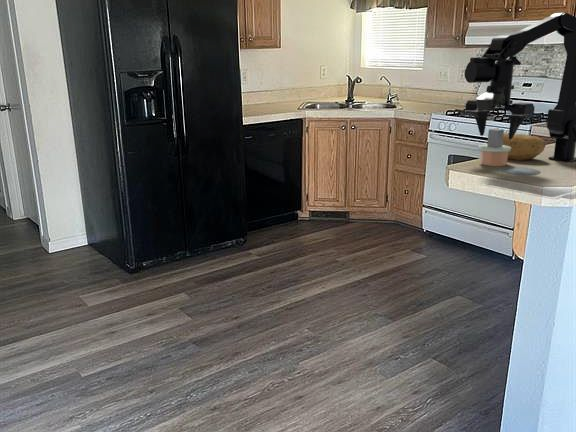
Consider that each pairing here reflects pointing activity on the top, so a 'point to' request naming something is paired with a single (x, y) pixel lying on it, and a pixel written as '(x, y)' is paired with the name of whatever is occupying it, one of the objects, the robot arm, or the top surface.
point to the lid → (495, 142)
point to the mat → (519, 171)
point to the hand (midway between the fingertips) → (495, 137)
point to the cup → (493, 158)
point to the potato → (523, 146)
